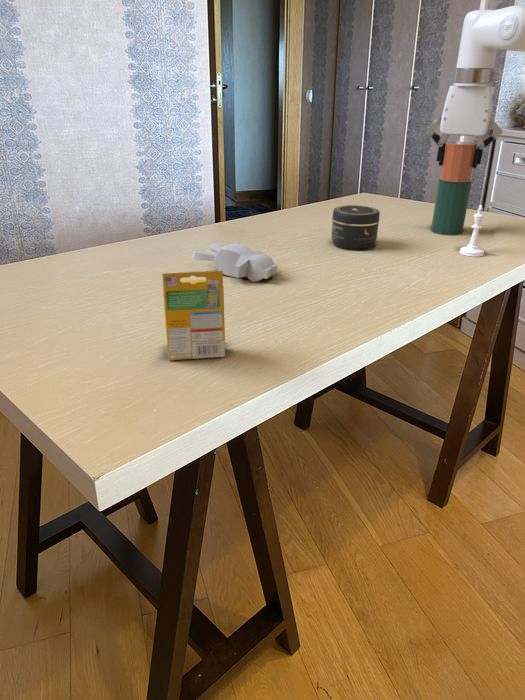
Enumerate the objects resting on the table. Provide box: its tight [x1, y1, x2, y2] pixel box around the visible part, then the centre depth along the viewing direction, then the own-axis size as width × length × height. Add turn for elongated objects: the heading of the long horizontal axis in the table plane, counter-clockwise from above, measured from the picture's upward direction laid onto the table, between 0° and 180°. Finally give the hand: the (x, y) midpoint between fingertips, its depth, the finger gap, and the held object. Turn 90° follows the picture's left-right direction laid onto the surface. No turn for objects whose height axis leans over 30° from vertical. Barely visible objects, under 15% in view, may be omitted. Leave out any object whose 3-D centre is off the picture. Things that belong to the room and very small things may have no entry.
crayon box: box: [161, 270, 226, 362], centre depth 66 cm, size 7×3×12 cm, turn 99°
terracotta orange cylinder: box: [439, 141, 478, 182], centre depth 121 cm, size 7×7×8 cm
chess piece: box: [458, 204, 485, 258], centre depth 109 cm, size 5×5×10 cm
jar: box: [331, 204, 381, 251], centre depth 114 cm, size 10×10×8 cm
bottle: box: [430, 178, 473, 236], centre depth 124 cm, size 7×7×16 cm
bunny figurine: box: [191, 242, 279, 283], centre depth 97 cm, size 10×5×15 cm
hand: (457, 165), depth 121 cm, fingers closed on terracotta orange cylinder, 6 cm apart
